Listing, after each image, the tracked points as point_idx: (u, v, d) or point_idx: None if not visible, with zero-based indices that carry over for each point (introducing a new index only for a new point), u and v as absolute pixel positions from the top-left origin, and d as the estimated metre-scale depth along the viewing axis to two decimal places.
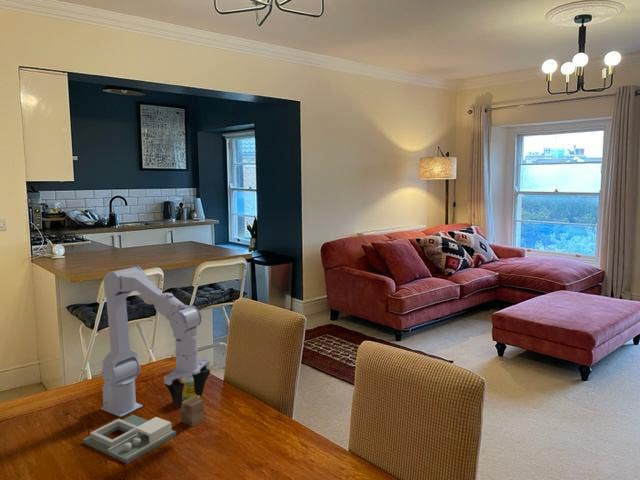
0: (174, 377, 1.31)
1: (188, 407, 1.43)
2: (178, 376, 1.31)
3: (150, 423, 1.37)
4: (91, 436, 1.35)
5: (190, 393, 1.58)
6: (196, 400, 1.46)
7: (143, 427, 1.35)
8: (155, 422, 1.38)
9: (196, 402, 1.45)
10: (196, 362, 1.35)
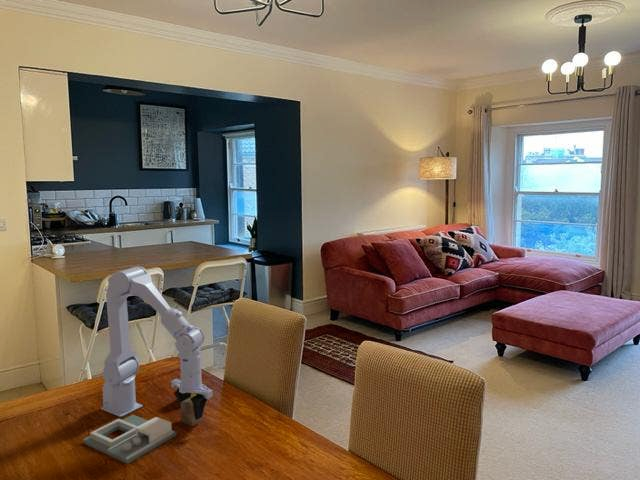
0: (174, 383, 1.47)
1: (188, 407, 1.43)
2: (176, 384, 1.46)
3: (150, 423, 1.37)
4: (91, 436, 1.35)
5: None
6: None
7: (143, 427, 1.35)
8: (155, 422, 1.38)
9: None
10: (186, 383, 1.42)
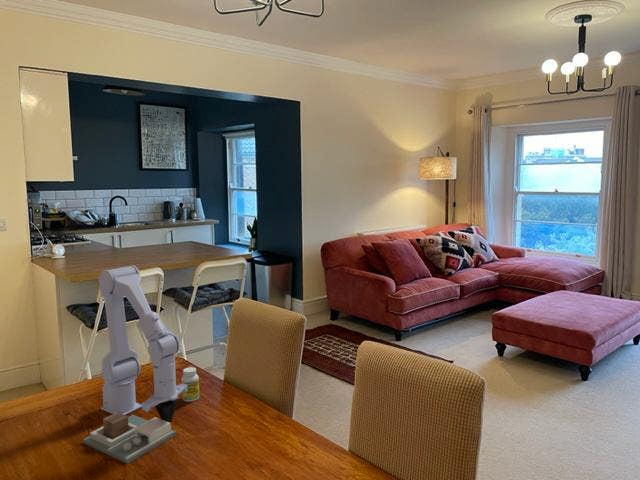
0: (152, 403, 1.34)
1: (110, 424, 1.34)
2: (156, 402, 1.34)
3: (149, 423, 1.37)
4: (91, 436, 1.35)
5: (190, 393, 1.58)
6: (120, 416, 1.37)
7: (142, 427, 1.35)
8: (154, 422, 1.37)
9: (119, 418, 1.35)
10: (174, 388, 1.38)
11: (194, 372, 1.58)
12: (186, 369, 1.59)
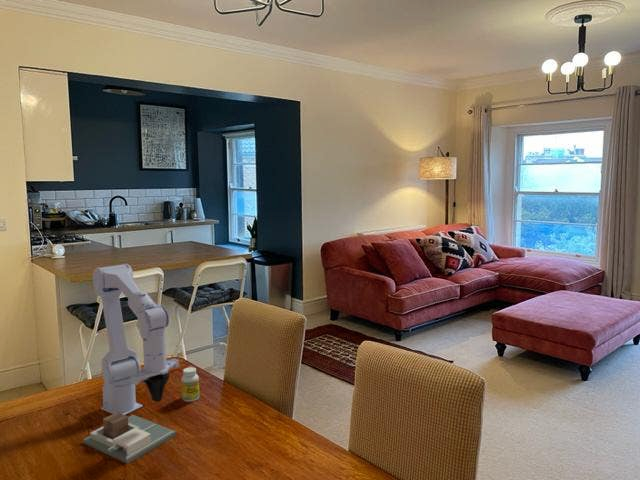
0: (141, 377, 1.30)
1: (110, 424, 1.34)
2: (145, 376, 1.30)
3: (129, 434, 1.31)
4: (91, 436, 1.35)
5: (190, 393, 1.58)
6: (120, 416, 1.37)
7: (121, 439, 1.29)
8: (134, 433, 1.32)
9: (119, 418, 1.35)
10: (164, 362, 1.34)
11: (194, 372, 1.58)
12: (186, 369, 1.59)
